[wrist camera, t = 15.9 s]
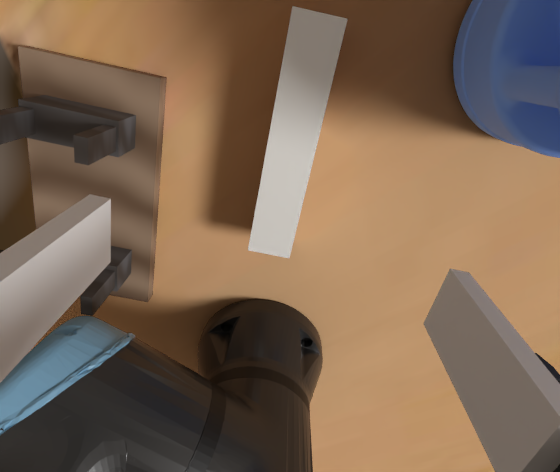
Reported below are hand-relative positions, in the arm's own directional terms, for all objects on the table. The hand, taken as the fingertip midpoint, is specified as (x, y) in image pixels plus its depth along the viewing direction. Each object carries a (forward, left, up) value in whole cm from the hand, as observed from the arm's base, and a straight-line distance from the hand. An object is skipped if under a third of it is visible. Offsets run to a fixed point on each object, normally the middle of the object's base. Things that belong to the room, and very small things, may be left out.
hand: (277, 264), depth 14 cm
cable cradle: (-9, +18, -23) cm, 30 cm away
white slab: (0, 0, -23) cm, 23 cm away
